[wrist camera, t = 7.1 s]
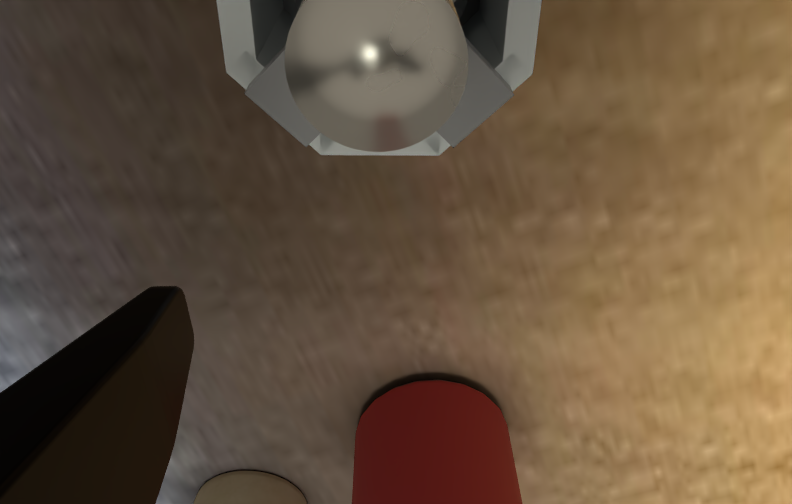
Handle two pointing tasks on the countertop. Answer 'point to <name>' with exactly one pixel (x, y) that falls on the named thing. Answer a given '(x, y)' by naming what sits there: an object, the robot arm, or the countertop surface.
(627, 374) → the countertop surface
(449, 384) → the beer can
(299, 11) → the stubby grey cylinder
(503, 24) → the grey faceted drum
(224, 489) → the candle
